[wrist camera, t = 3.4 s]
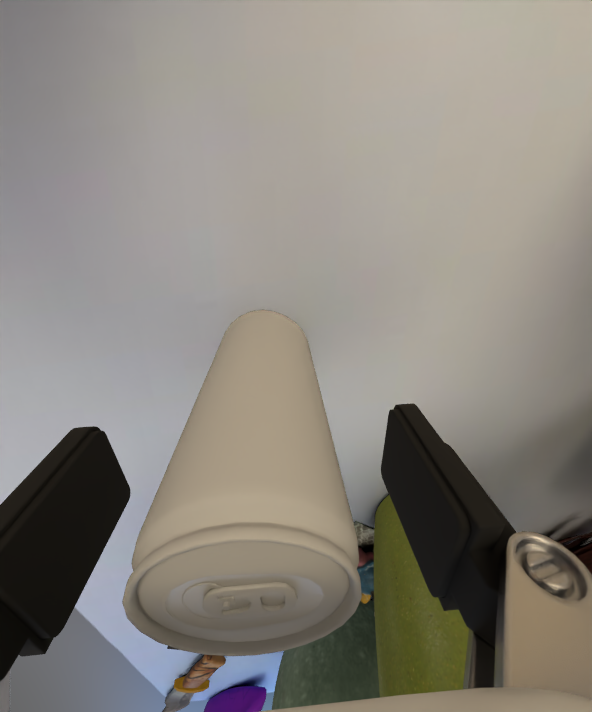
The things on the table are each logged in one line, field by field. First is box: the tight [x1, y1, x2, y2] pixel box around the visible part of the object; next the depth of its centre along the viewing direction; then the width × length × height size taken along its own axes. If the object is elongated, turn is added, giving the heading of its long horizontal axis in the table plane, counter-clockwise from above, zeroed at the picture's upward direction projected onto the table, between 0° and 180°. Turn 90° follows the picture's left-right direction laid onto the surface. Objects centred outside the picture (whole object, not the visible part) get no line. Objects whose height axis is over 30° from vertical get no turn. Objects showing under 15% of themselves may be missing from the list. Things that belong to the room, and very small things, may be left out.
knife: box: [162, 654, 226, 712], centre depth 37 cm, size 25×1×5 cm
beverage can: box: [123, 310, 362, 656], centre depth 11 cm, size 5×5×12 cm
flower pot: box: [374, 495, 469, 697], centre depth 16 cm, size 15×15×16 cm
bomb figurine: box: [354, 521, 375, 616], centre depth 24 cm, size 8×8×6 cm
